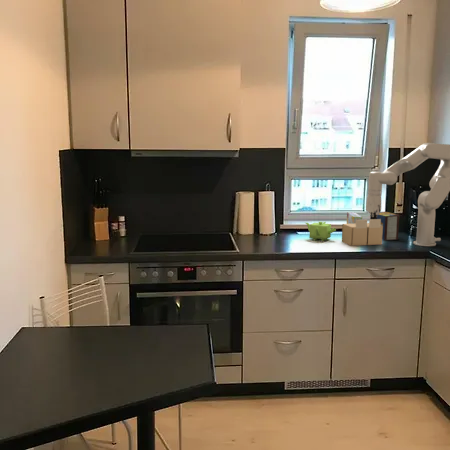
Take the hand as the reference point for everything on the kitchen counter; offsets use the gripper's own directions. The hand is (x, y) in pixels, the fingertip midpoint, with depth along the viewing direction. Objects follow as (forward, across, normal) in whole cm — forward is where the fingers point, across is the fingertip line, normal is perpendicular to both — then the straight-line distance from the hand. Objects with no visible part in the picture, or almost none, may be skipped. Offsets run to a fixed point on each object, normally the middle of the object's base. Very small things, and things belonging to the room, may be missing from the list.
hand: (373, 223), depth 314 cm
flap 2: (+12, +5, -1) cm, 13 cm away
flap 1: (+12, +5, -11) cm, 16 cm away
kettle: (+12, -18, -26) cm, 34 cm away
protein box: (+12, -15, +16) cm, 25 cm away
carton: (+12, -2, -6) cm, 13 cm away
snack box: (+12, -19, -3) cm, 23 cm away
